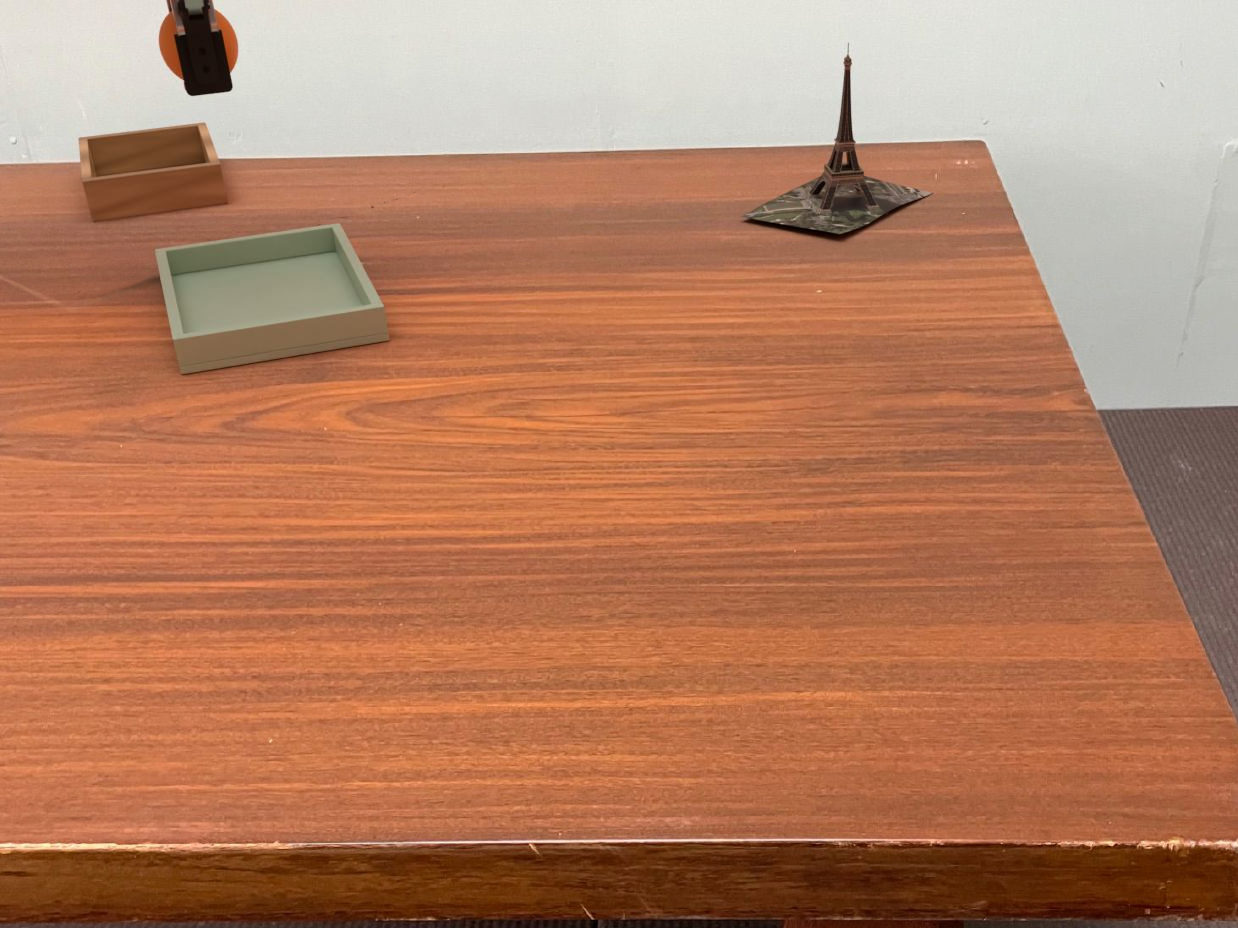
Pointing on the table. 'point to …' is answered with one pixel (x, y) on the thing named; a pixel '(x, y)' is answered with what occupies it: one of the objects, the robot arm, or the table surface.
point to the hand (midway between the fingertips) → (205, 80)
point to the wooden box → (151, 172)
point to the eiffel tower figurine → (838, 187)
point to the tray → (268, 298)
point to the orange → (170, 49)
